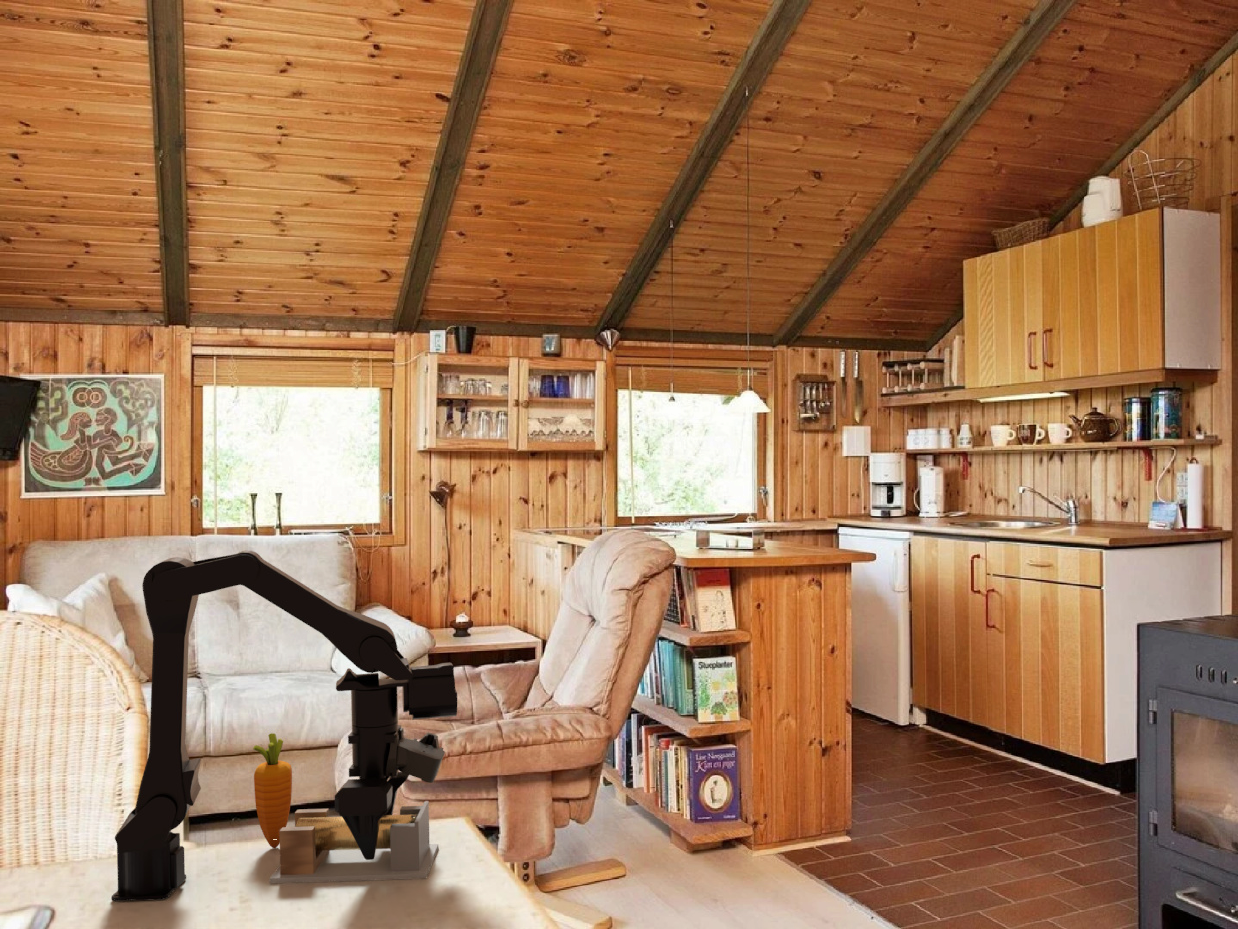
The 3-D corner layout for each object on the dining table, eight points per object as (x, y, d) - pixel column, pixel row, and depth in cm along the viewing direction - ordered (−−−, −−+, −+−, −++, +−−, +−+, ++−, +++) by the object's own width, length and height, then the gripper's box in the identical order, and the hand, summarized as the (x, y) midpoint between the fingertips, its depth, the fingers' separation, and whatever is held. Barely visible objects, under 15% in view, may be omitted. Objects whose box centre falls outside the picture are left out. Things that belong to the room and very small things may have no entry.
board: (269, 883, 127) (269, 878, 127) (293, 853, 137) (292, 848, 137) (426, 878, 127) (426, 873, 127) (438, 848, 137) (438, 844, 137)
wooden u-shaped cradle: (280, 875, 128) (279, 831, 128) (298, 851, 136) (297, 809, 136) (313, 874, 128) (312, 830, 128) (329, 850, 136) (328, 808, 136)
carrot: (282, 856, 136) (279, 741, 136) (247, 854, 137) (245, 739, 137) (301, 842, 141) (298, 731, 141) (267, 840, 142) (265, 730, 142)
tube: (295, 856, 130) (294, 824, 130) (303, 844, 134) (303, 813, 134) (415, 852, 130) (415, 820, 130) (421, 841, 134) (420, 810, 134)
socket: (391, 871, 128) (389, 822, 128) (402, 847, 136) (401, 801, 136) (419, 870, 128) (418, 821, 128) (429, 847, 136) (428, 801, 136)
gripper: (427, 740, 123) (430, 872, 123) (448, 704, 142) (451, 819, 142) (332, 742, 123) (335, 875, 123) (366, 706, 141) (368, 821, 141)
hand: (377, 845), depth 132 cm, fingers open, 9 cm apart
